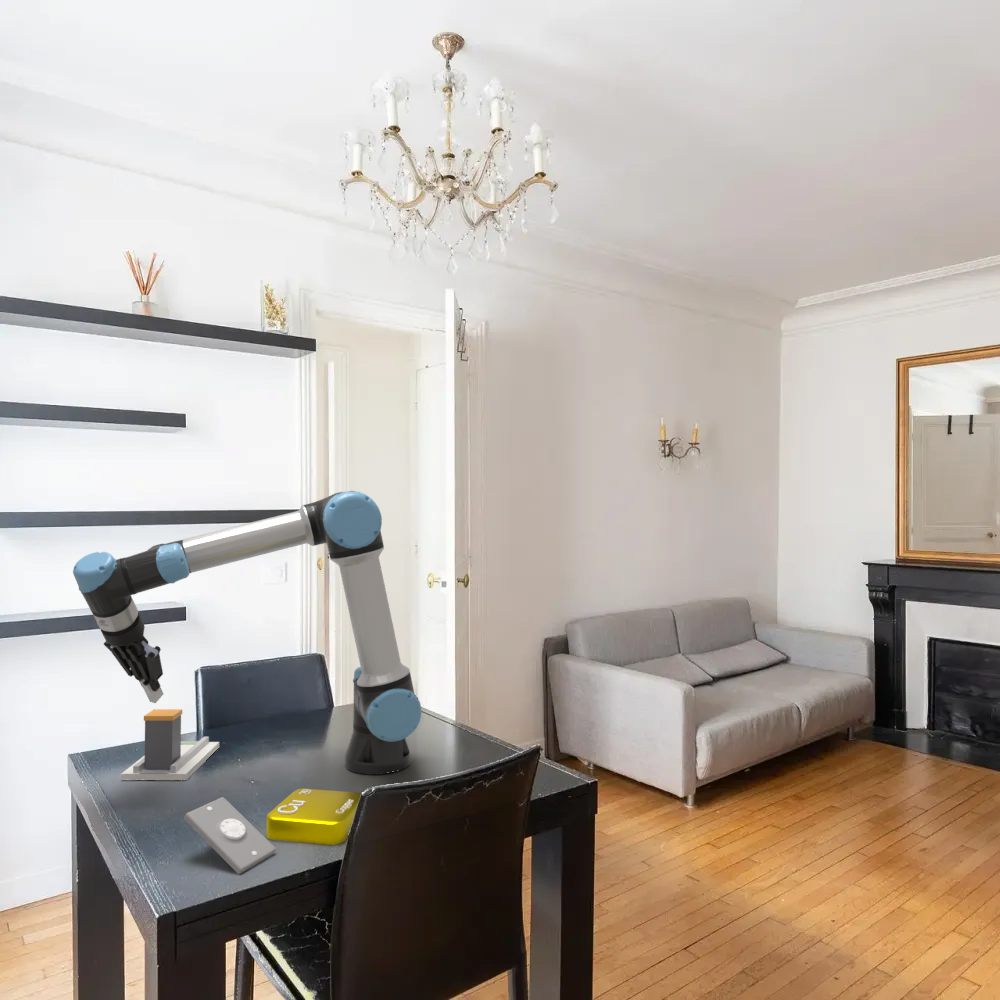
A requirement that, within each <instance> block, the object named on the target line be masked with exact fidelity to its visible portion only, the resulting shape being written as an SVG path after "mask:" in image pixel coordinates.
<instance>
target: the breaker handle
mask: <svg viewBox="0 0 1000 1000" xmlns="http://www.w3.org/2000/svg"><path fill="white" fill-rule="evenodd" d="M182 715H183V709H177V708H175V709H171V708H170V709H165V708H164V709H163V708H160V709H159V708H158V709H157V708H155V709H153V710H151V711H149V712H147V713H146V714H145V715H143V721H144V756H145V763H144V769H170V766H171V765H172V764H173V763H174V762H176V761H177V760H178V759H179V758H180V757H181V741H182Z"/></svg>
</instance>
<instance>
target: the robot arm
mask: <svg viewBox="0 0 1000 1000" xmlns="http://www.w3.org/2000/svg"><path fill="white" fill-rule="evenodd" d="M382 518H383V517H382V513H381V511H380V508H379V506H378V504H377V503H376V502H375V501H374V500H373V498H371V497H370V496H369V495H367V494H366V493H362V492H360V491H356V490H348V491H340V492H335V493H333V494H330V495H329V496H326V497H324V498H323V499H319V500H317V501H313V502H311V503H307V504H302V505H301V506H300V508H299V509H298V510H297V511H296V510H295V511H292V512H288V513H285V514H280V515H277V516H272V517H268V518H263V519H260V520H256V521H255V520H254V521H252V522H247V523H244V524H240V525H235V526H232V527H229V528H228V527H227V528H224V529H220V530H215V531H211V532H207V533H203V534H199V535H196V536H191V537H187V538H183V539H181V540H175V541H171V542H166V543H159V544H156V545H152V546H151V547H150V548H148V549H147V550H146V551H142V552H139V553H136V554H133V555H129V556H126V557H122V558H115V557H114V556H113V555H112V553H109V552H106V551H102V552H100V551H96V552H95V551H94V552H91V553H89V554H87V555H85V556H83V557H81V558H80V559H79V560H77V562H75V565H74V566H73V570H72V574H73V577H74V578H75V581H76V584H77V586H78V591H79V592H80V593H81V594H82V596H83V598H84V600H85V601H86V604H87V605H88V607H89V610H90V611H91V613H92V615H93V617H94V620H95V621H96V624H97V626H98V628H100V632H101V633H102V636H103V637H104V639H105V642H103V645H104V647H105V648H106V649H108V650H109V651H110V652H111V654H112V655H113V656H114V658H115V659H116V660H117V662H118V663H119V665H120V666H121V667H122V669H123V671H125V673H126V675H128V676H129V677H130V678H131V677H134V678H135V680H137V681H138V682H139V684H140V686H141V688H143V690H144V693H145V695H146V696H147V698H148V700H149V703H153V704H156V703H157V702H158V701H160V699H161V698H162V696H163V695H164V692H163V690H162V688H161V684H160V681H159V680H160V678H161V677H162V676H163V675H164V672H163V667H162V662H161V656H160V652H161V650H162V649H161V647H159V646H158V645H155V646H151V645H150V644H149V640H148V639H147V638H146V637H145V634H144V633H145V623H144V621H143V619H142V617H141V615H140V613H139V610H138V607H137V605H136V603H135V601H134V599H133V597H132V596H135V595H138V594H139V593H142V592H146V591H149V590H153V589H156V588H159V587H162V586H166V585H170V584H175V583H177V582H178V581H181V580H183V579H184V580H185V579H186V578H188V577H189V576H190V574H192V573H195V572H201V571H204V570H207V569H211V568H215V567H220V566H224V565H228V564H230V563H231V564H232V563H235V562H239V561H242V560H246V559H251V558H254V557H258V556H261V555H263V556H264V555H267V554H270V553H273V552H278V551H281V550H285V549H289V548H294V547H296V546H300V545H301V546H302V545H305V544H308V545H310V546H312V547H314V546H319V545H325V544H326V546H327V550H328V556H329V559H330V561H331V562H333V563H335V564H336V565H338V566H339V572H340V576H341V581H342V585H343V590H344V595H345V596H344V597H345V600H346V604H347V609H348V610H347V611H348V613H349V618H350V622H351V628H352V632H353V637H354V642H355V647H356V651H357V656H358V657H357V658H358V661H359V665H360V666H358V667H356V669H354V672H353V678H352V683H353V707H352V708H353V711H352V712H353V715H352V717H353V719H352V720H353V723H352V724H353V726H352V735H351V737H350V741H349V743H348V745H347V748H346V753H345V757H344V766H345V769H347V770H349V771H350V772H352V773H356V772H358V773H357V774H360V773H365V774H364V775H371V774H376V775H381V774H380V773H387V772H392V771H397V770H400V771H402V770H401V769H403V768H405V767H406V766H408V765H409V766H410V764H411V751H410V747H409V745H408V740H407V737H410V736H411V735H412V734H413V733H414V732H415V731H416V729H417V728H418V726H419V724H420V722H421V719H422V713H423V710H422V706H421V704H422V703H421V702H420V699H419V697H418V696H417V695H416V694H415V691H414V690H415V688H414V684H413V680H412V677H411V672H410V668H409V667H407V666H406V665H404V664H403V663H402V662H401V657H400V652H399V648H398V643H397V636H396V633H395V629H394V623H393V618H392V613H391V608H390V604H389V601H388V595H387V591H386V585H385V581H384V576H383V571H382V566H381V562H380V561H381V560H380V555H381V554H382V553H383V551H384V550H385V545H384V540H383V536H382V535H383V534H382V530H381V529H382V523H383V522H382V520H383V519H382ZM409 763H410V764H409ZM409 766H408V767H409ZM406 768H407V767H406ZM406 768H405V769H406ZM403 770H404V769H403ZM397 772H398V771H397Z"/></svg>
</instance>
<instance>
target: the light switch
mask: <svg viewBox="0 0 1000 1000" xmlns="http://www.w3.org/2000/svg"><path fill="white" fill-rule="evenodd" d="M184 821H186V822H187V824H189V825H190V826H191V828H192V829H194V830H195V832H197V833H198V834H199V836H200V837H202V839H203V840H205V842H206V843H207V844H208V845H209V846H211V848H212V849H213V850H214V851H215V852H216V853H217V854H218V855H219V856H220V857H221V858H222V859H223V861H225V863H227V864H228V865H229V866H230V867H231V868H232V869H233V871H235V872H236V873H237V874H238V875H241V874H242V873H245V872H246V871H248V870H249V869H251V868H252V867H254V866H256V865H258V864H260V863H261V862H262V861H264V860H266V859H267V858H270V857H271V856H273V855H274V854H275V852H276V850H277V848H276V847H275V846H274V845H273V844H272V842H270V840H268V838H267V837H265V836H264V835H263V834H262V833H261V832H260V831H259V830H258V829H257V828H255V826H254V825H253V824H252V823H250V821H249V820H248V819H247V818H245V817H244V816H243V815H242V814H241V813H240V812H239V810H237V808H235V807H234V806H233V804H231V803H230V801H228V800H227V798H225V797H224V796H222V797H219V798H217V799H215V800H213V801H210V802H208V803H206V804H204V805H202V806H200V807H197V808H195V809H193V810H191V811H188V812H187V813H186V814H185V815H184Z"/></svg>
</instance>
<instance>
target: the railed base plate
mask: <svg viewBox="0 0 1000 1000" xmlns="http://www.w3.org/2000/svg"><path fill="white" fill-rule="evenodd" d="M218 748H219V749H220V741H210V736H203V737H202V738H200V739H199V740H181V757H180V758H179V759H178V760H177V761H176V762H174V763H173V764H172V765H171V766H170V769H144V763H145V755H143V756H141V758H140V759H138V760H137V761H136V762H134V763H133V764H132V765H130V766H129V767H128V768H126V769H125V770H124V771H123V772H121V773H120V781H121V780H125V779H129V780H130V779H131V780H136V779H137V780H141V779H144V780H181V781H180V782H183V781H182V780H186V781H187V780H189V778H190V777H191V776H193V774H194V773H196V772H197V770H199V768H200V767H201V766H202V765H203V764H204V763H205V762H207V761H208V760H207V759H208V758H209V757H210V756H211V755H212V754H213V753H214V752H215V751H216V750H217V749H218ZM219 749H218V750H219ZM218 750H217V751H218ZM217 751H216V752H217ZM216 752H215V753H216ZM215 753H214V754H215ZM212 756H213V755H212ZM212 756H211V757H212ZM209 759H210V758H209ZM206 760H207V761H206Z"/></svg>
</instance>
